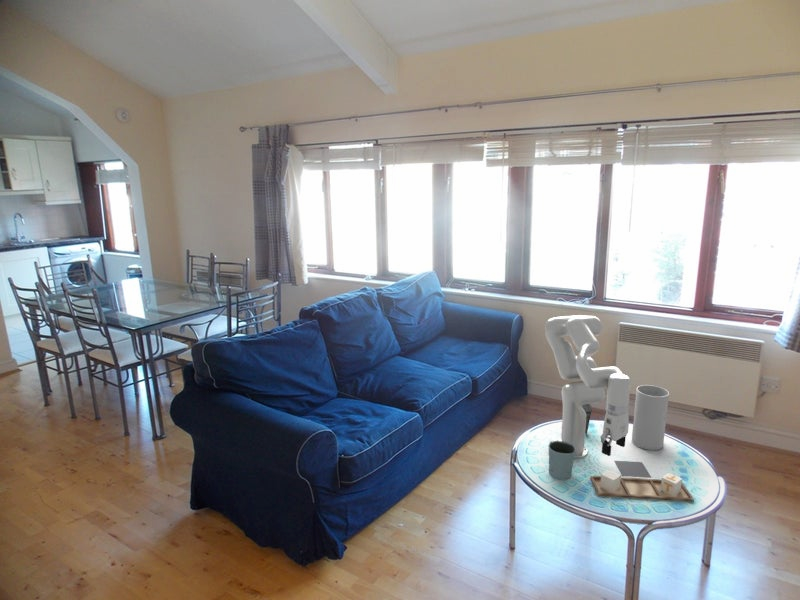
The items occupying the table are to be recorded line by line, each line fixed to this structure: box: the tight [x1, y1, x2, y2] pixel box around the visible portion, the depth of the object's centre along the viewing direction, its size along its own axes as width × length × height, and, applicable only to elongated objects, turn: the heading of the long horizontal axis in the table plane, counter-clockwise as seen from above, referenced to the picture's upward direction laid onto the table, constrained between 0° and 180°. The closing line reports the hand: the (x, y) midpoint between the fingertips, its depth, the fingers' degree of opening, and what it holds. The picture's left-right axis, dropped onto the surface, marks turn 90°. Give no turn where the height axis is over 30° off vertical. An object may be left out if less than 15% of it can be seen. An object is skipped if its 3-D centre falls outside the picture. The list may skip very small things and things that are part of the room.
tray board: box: [589, 475, 695, 503], centre depth 187 cm, size 33×12×1 cm, turn 82°
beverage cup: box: [582, 404, 593, 435], centre depth 229 cm, size 7×7×20 cm
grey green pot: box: [548, 440, 576, 481], centre depth 197 cm, size 10×10×12 cm
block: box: [600, 469, 622, 493], centre depth 188 cm, size 5×5×6 cm
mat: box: [613, 460, 653, 479], centre depth 201 cm, size 11×11×1 cm
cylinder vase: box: [631, 384, 670, 451], centre depth 217 cm, size 12×12×25 cm
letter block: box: [660, 472, 683, 497], centre depth 185 cm, size 5×5×6 cm
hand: (613, 449), depth 185 cm, fingers open, 9 cm apart
